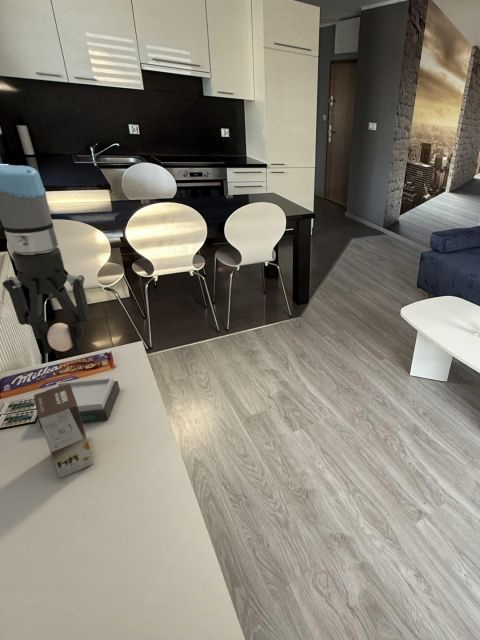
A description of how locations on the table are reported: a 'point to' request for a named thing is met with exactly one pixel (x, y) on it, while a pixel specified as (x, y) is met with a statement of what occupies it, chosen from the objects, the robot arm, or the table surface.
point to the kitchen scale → (94, 398)
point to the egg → (59, 337)
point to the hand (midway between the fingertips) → (64, 348)
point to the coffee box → (63, 429)
